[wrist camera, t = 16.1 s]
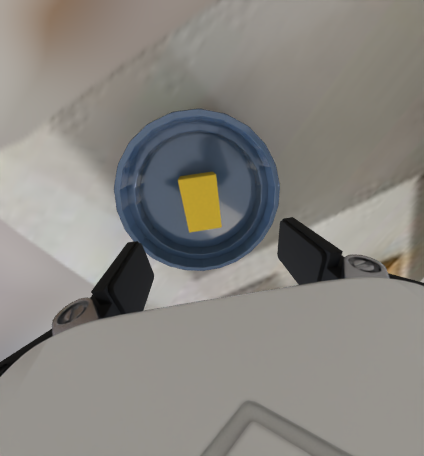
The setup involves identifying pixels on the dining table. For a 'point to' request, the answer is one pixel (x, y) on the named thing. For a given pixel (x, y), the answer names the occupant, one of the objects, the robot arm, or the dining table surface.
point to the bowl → (187, 165)
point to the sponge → (200, 201)
